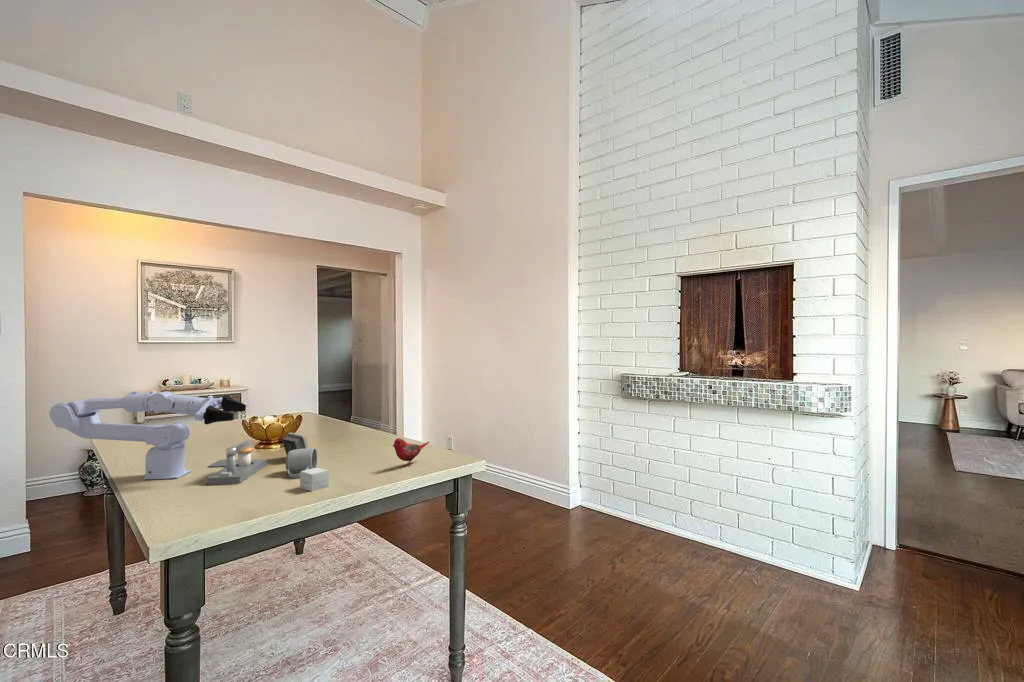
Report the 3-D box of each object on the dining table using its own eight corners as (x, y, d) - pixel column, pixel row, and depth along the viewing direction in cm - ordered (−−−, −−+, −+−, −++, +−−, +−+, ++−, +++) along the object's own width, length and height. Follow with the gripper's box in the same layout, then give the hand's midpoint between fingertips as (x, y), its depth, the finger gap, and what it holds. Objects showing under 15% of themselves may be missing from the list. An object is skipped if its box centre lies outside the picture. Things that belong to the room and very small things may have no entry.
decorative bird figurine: (389, 469, 152) (389, 439, 152) (426, 458, 167) (426, 430, 167) (395, 471, 150) (395, 440, 150) (432, 459, 165) (432, 431, 165)
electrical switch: (311, 459, 165) (309, 433, 164) (298, 464, 160) (295, 437, 159) (296, 456, 170) (293, 430, 169) (282, 460, 165) (279, 434, 165)
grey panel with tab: (206, 484, 136) (206, 459, 136) (237, 466, 156) (237, 444, 156) (239, 483, 137) (239, 458, 137) (266, 465, 157) (266, 443, 157)
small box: (329, 486, 135) (329, 469, 135) (311, 492, 130) (311, 474, 130) (317, 483, 138) (317, 466, 138) (299, 488, 133) (299, 471, 133)
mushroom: (232, 473, 148) (232, 450, 148) (239, 469, 152) (239, 447, 152) (249, 472, 148) (249, 450, 148) (255, 468, 153) (255, 447, 153)
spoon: (224, 455, 140) (224, 448, 140) (242, 446, 152) (242, 440, 152) (233, 455, 140) (233, 448, 140) (251, 446, 152) (251, 439, 152)
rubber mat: (207, 467, 154) (207, 466, 154) (219, 461, 162) (219, 460, 162) (233, 466, 155) (233, 465, 155) (244, 460, 163) (244, 459, 163)
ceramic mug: (290, 469, 152) (290, 446, 152) (317, 468, 153) (317, 445, 153) (281, 480, 141) (281, 454, 141) (310, 478, 143) (310, 453, 143)
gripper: (179, 402, 137) (228, 408, 139) (207, 386, 152) (251, 392, 153) (178, 424, 139) (226, 430, 140) (206, 406, 153) (249, 412, 155)
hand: (239, 412), depth 147 cm, fingers open, 7 cm apart
